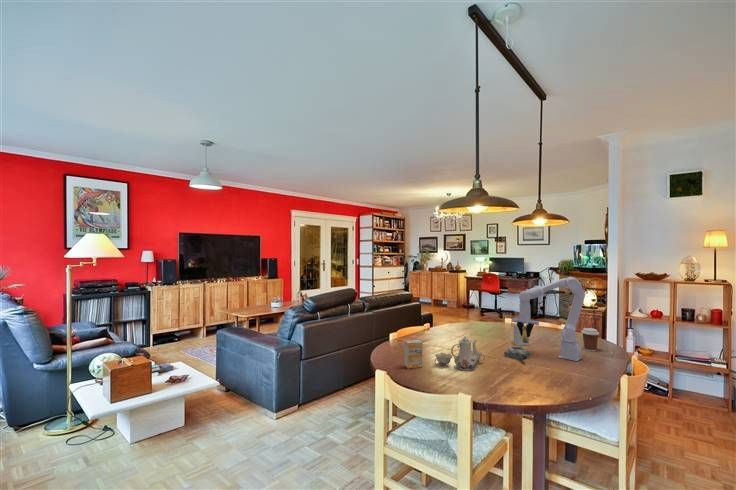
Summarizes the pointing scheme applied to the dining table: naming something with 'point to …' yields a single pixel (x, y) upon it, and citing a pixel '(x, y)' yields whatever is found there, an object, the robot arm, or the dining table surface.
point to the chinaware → (462, 356)
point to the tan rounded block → (524, 335)
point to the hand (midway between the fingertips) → (525, 336)
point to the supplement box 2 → (518, 336)
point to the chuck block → (515, 355)
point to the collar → (518, 351)
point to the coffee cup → (590, 339)
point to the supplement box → (413, 354)
